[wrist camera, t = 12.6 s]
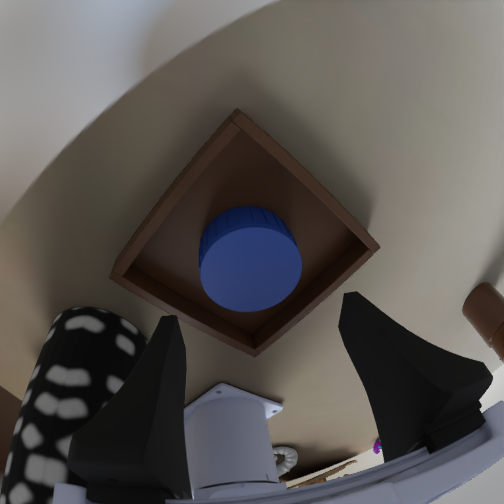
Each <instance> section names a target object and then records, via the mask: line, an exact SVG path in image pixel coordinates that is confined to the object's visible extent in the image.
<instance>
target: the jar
mask: <svg viewBox="0 0 504 504" xmlns="http://www.w3.org/2000/svg"><path fill="white" fill-rule="evenodd" d="M463 315H464V316H465V317H466V318H467V320H468V321H469V322H470V323H471V325H472V326H473V327H474V328H475V330H476V331H477V332H478V333H479V335H480V336H481V337H482V338H483V340H484V341H485V342H486V344H487V345H488V346H489V347H490V348H493V350H494V351H495V352H496V354H497V355H498V356H499V358H500V360H502V362H503V363H504V297H503V296H502V295H501V294H500V293H499V292H498V290H497V289H496V288H495V287H494V286H493V285H492V284H491V283H489V282H485V283H482V284H481V285H479V286H478V287H476V288H475V289H474V290H473V291H472V293H471V294H470V295H469V296H468V298H467V300H466V301H465V303H464V306H463Z"/></svg>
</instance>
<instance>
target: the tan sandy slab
mask: <svg viewBox="0 0 504 504" xmlns="http://www.w3.org/2000/svg"><path fill="white" fill-rule="evenodd" d="M356 462H357V460H353V461H350V462H347V463H345V464H343V465H341V466H339V467H337V468H334V469H332V470H330V471H328V472H325V473H323V474H321V475H318V476H316V477H314V478H312V479H309V480H307V481H304V482H301V483H299V484H296V485H293V486H291V487H288V488H287V490H288V489H291V488H294V487H296V486H298V487H303V486H307V485H312V484H316V483H320V482H325V481H326V477H328V476H330V475H333V474H335V473H337V472H339V471H340V470H342V469H344V468H345V467H346V466H347V465H350V464H352V463H356ZM347 475H349V474H345V475H344V476H347ZM338 478H340V477H338Z"/></svg>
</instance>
